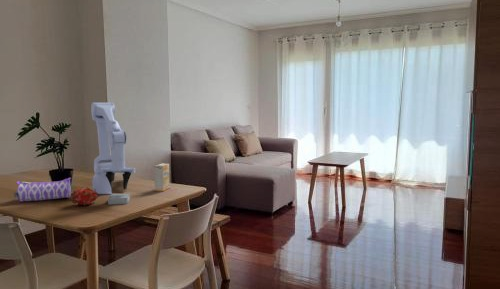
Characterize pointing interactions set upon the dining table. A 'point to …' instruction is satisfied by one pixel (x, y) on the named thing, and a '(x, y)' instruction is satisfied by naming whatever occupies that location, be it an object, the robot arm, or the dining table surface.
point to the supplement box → (161, 177)
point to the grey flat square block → (119, 199)
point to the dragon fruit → (84, 196)
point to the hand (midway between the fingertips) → (118, 188)
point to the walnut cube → (118, 186)
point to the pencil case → (43, 190)
